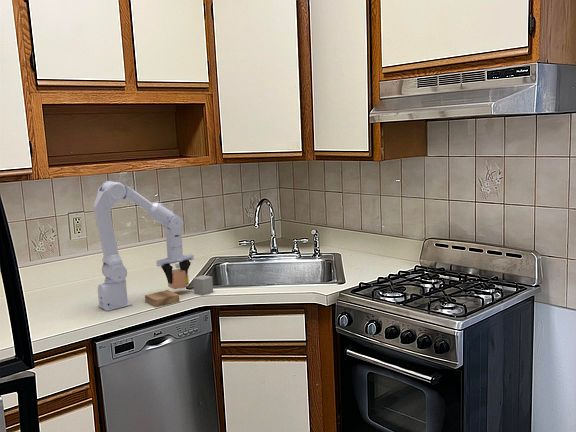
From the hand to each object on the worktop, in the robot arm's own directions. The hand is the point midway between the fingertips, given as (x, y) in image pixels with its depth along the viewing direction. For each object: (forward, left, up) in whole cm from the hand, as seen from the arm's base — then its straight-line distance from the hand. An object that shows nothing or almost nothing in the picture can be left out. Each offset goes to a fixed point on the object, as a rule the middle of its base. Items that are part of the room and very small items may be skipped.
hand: (176, 281), depth 218 cm
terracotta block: (0, 0, -2) cm, 2 cm away
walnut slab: (-9, -6, -5) cm, 12 cm away
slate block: (+7, -7, -5) cm, 11 cm away
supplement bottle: (+6, +8, -5) cm, 11 cm away
